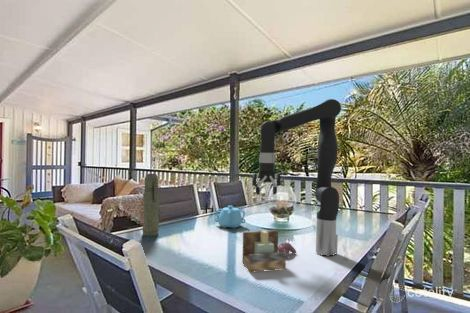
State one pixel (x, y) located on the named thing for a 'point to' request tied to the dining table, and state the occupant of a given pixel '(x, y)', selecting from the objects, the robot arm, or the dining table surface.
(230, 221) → the decorative pot
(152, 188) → the thermos
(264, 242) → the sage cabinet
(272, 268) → the wall board ledge
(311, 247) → the dining table surface
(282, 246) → the video game controller
